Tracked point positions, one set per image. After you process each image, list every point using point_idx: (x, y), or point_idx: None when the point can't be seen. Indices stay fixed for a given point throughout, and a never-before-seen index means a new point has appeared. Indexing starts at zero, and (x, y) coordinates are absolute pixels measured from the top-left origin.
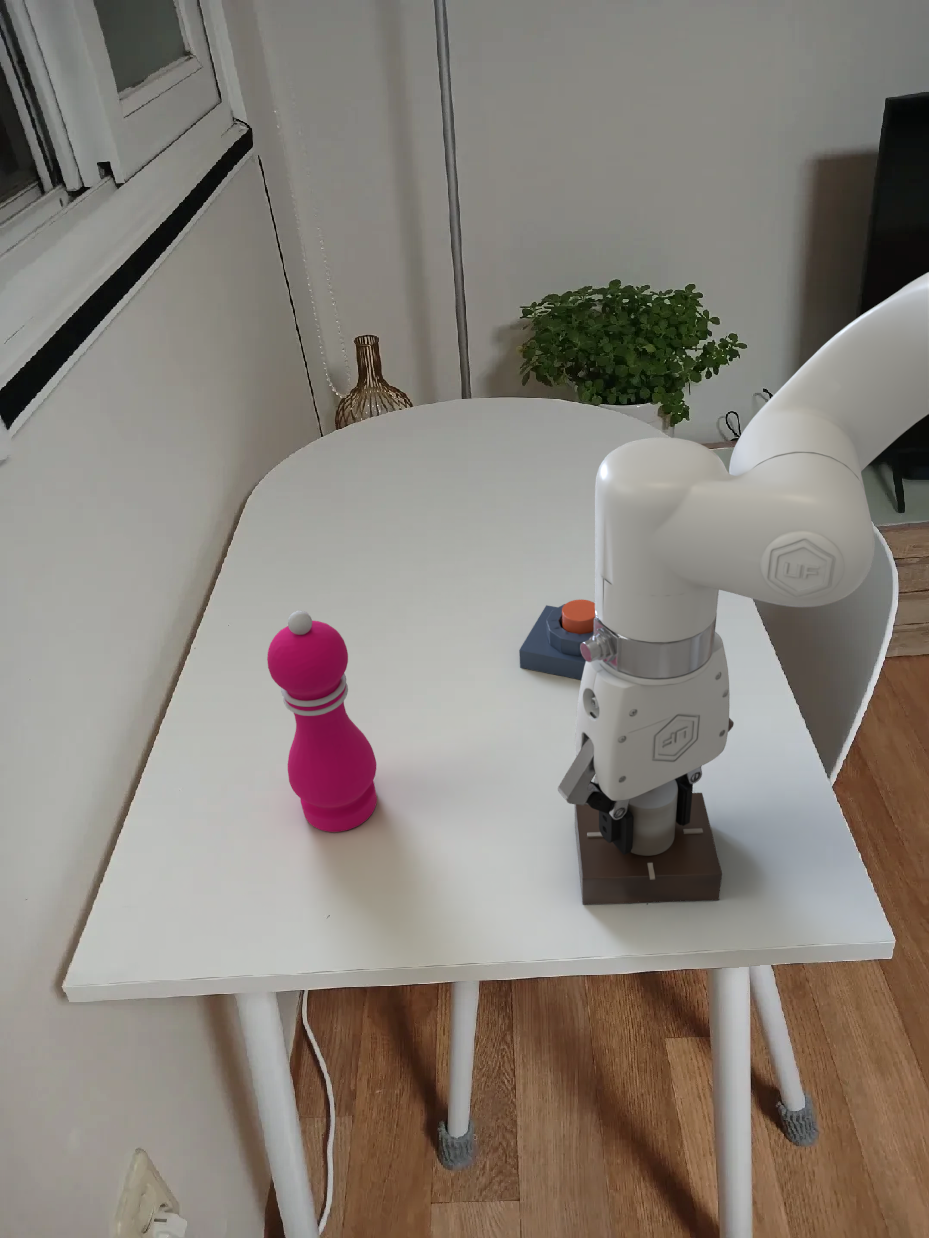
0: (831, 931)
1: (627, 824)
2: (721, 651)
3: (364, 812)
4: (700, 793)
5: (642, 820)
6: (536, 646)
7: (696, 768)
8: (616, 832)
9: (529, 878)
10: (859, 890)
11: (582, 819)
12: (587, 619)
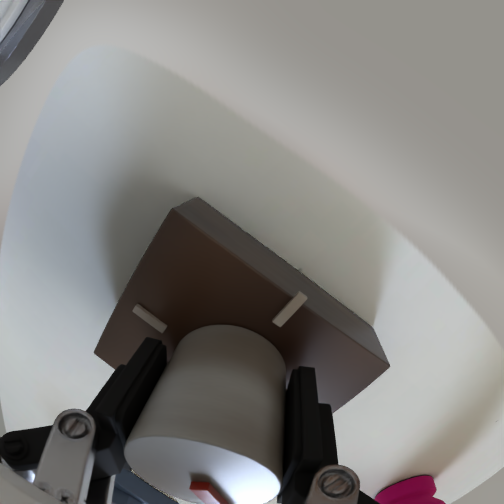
0: (115, 62)
1: (319, 441)
2: None
3: (410, 486)
4: (96, 353)
5: (268, 426)
6: None
7: (59, 446)
8: (320, 421)
9: (381, 390)
10: (48, 100)
11: None
12: None
